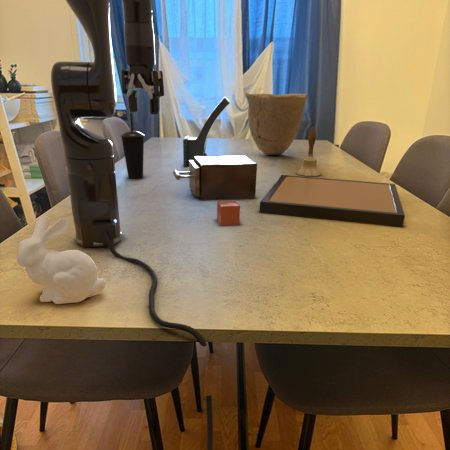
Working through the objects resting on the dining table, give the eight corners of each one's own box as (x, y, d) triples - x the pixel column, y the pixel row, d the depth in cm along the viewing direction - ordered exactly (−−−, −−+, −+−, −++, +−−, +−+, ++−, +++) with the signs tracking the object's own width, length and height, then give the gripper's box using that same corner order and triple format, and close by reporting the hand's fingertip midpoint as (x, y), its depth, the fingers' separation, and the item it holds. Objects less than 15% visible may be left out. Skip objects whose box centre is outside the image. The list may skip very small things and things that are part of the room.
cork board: (402, 226, 105) (393, 193, 135) (404, 215, 103) (394, 183, 134) (259, 212, 113) (280, 183, 143) (259, 201, 111) (281, 174, 142)
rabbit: (21, 305, 66) (4, 230, 60) (44, 279, 74) (31, 211, 69) (100, 307, 66) (90, 232, 60) (114, 281, 74) (107, 213, 69)
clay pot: (233, 150, 200) (235, 91, 189) (288, 149, 208) (293, 91, 196) (255, 161, 177) (258, 94, 166) (315, 159, 185) (323, 95, 173)
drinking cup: (119, 178, 144) (113, 113, 135) (133, 174, 150) (129, 111, 141) (137, 181, 141) (133, 114, 132) (151, 176, 147) (148, 113, 138)
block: (239, 224, 103) (240, 205, 101) (220, 225, 102) (221, 206, 100) (234, 218, 107) (235, 200, 105) (216, 219, 106) (217, 201, 104)
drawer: (177, 197, 121) (176, 168, 117) (172, 187, 131) (171, 160, 127) (245, 195, 125) (246, 166, 121) (235, 185, 135) (236, 159, 131)
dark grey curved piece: (228, 168, 163) (229, 97, 152) (182, 166, 164) (181, 96, 153) (229, 163, 173) (231, 96, 161) (186, 161, 174) (185, 94, 162)
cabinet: (201, 200, 122) (201, 164, 117) (194, 189, 133) (194, 156, 128) (255, 198, 125) (257, 163, 121) (243, 188, 136) (245, 155, 132)
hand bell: (296, 175, 155) (300, 128, 147) (298, 171, 162) (302, 125, 154) (319, 177, 153) (325, 129, 145) (320, 172, 160) (326, 126, 153)
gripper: (110, 44, 112) (116, 111, 120) (147, 43, 104) (150, 115, 112) (133, 45, 117) (137, 110, 125) (169, 45, 109) (171, 114, 117)
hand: (143, 112), depth 118 cm, fingers open, 8 cm apart
